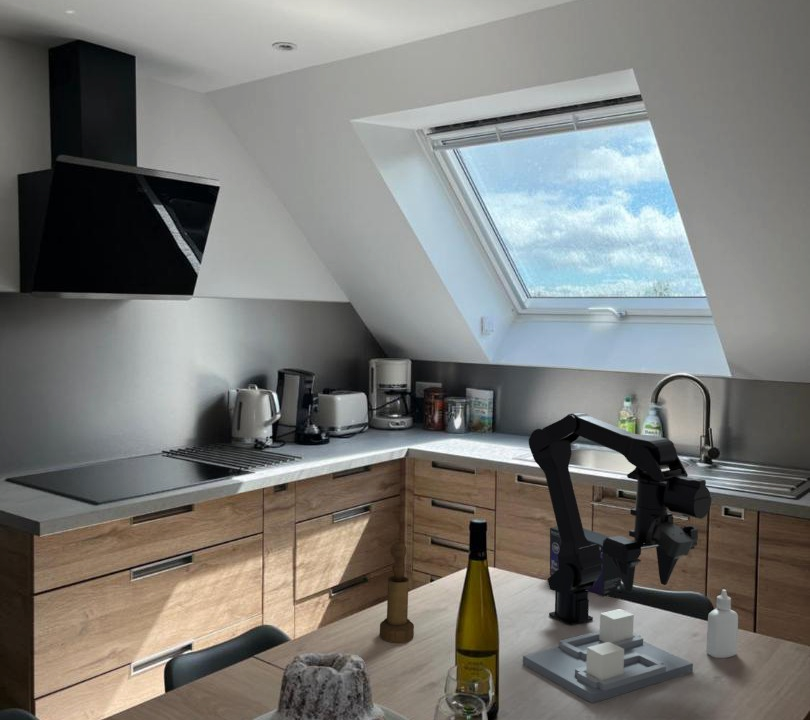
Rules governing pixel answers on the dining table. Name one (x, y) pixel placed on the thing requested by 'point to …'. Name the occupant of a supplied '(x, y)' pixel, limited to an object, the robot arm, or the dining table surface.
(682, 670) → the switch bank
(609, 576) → the box
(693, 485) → the robot arm
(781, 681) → the dining table surface
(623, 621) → the tab
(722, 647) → the eye dropper bottle
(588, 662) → the tab
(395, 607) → the mortar and pestle
